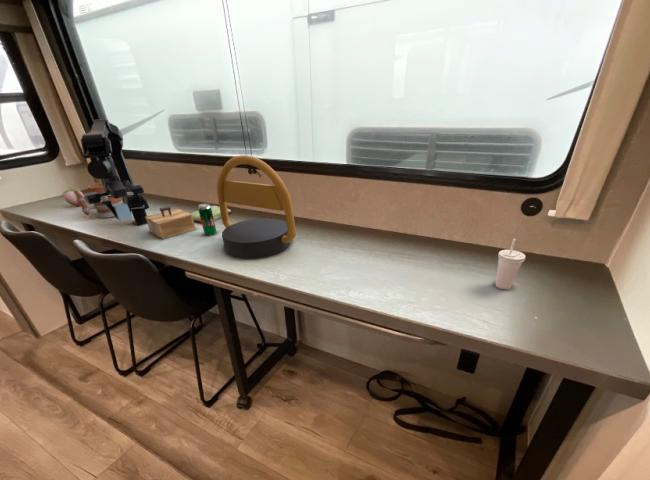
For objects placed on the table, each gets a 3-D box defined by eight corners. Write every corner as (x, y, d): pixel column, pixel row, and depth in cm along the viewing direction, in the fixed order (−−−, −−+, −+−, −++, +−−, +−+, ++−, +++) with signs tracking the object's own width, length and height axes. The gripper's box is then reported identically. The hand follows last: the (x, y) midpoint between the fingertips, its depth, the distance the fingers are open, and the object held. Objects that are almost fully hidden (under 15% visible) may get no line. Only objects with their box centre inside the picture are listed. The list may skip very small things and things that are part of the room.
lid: (145, 218, 141) (141, 208, 139) (177, 209, 150) (175, 200, 147) (158, 225, 132) (154, 215, 130) (192, 216, 141) (189, 206, 138)
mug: (132, 212, 170) (121, 182, 162) (91, 223, 158) (77, 191, 150) (121, 208, 178) (110, 179, 170) (81, 218, 166) (68, 187, 158)
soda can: (213, 236, 136) (206, 207, 129) (202, 235, 137) (194, 206, 130) (218, 231, 140) (212, 203, 134) (208, 231, 141) (201, 203, 135)
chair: (246, 227, 142) (232, 148, 125) (314, 241, 126) (309, 151, 109) (201, 248, 125) (178, 159, 108) (274, 267, 109) (260, 166, 92)
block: (116, 218, 126) (111, 205, 123) (128, 215, 129) (123, 202, 126) (120, 221, 123) (114, 207, 121) (132, 218, 126) (127, 204, 123)
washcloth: (233, 212, 161) (231, 206, 159) (205, 224, 149) (203, 217, 147) (214, 209, 167) (212, 203, 165) (186, 220, 155) (184, 213, 153)
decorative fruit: (85, 202, 191) (78, 185, 185) (89, 205, 185) (81, 187, 180) (67, 206, 186) (58, 188, 180) (69, 209, 180) (61, 190, 175)
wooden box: (150, 231, 144) (145, 218, 141) (182, 222, 152) (178, 210, 149) (162, 239, 136) (158, 225, 132) (195, 229, 144) (192, 216, 141)
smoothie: (486, 281, 95) (497, 235, 87) (507, 279, 95) (521, 233, 88) (498, 292, 90) (511, 244, 82) (520, 290, 90) (536, 242, 82)
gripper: (83, 181, 107) (102, 227, 115) (142, 171, 117) (156, 214, 126) (75, 177, 114) (94, 221, 122) (131, 167, 124) (145, 208, 133)
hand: (123, 216), depth 126 cm, fingers closed on block, 4 cm apart
